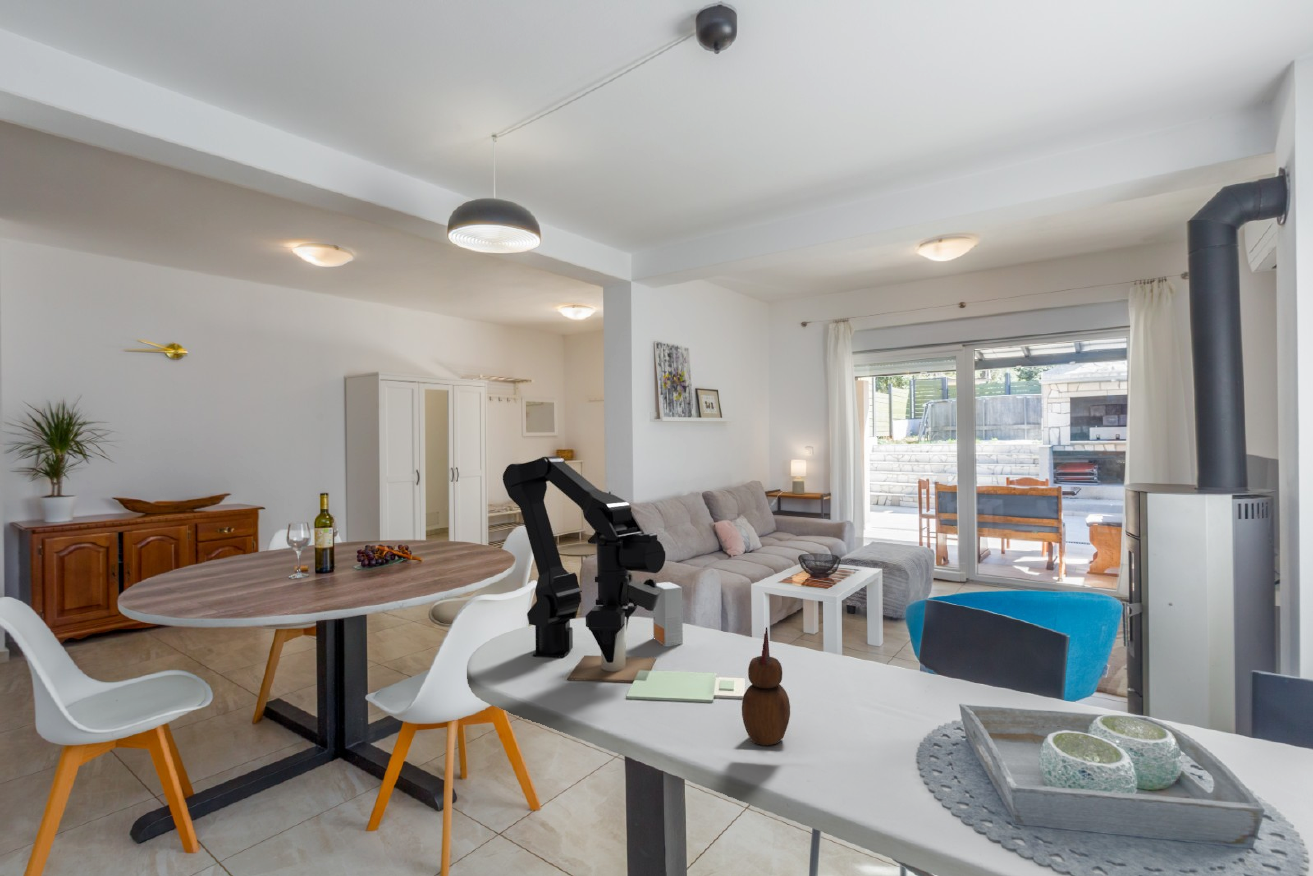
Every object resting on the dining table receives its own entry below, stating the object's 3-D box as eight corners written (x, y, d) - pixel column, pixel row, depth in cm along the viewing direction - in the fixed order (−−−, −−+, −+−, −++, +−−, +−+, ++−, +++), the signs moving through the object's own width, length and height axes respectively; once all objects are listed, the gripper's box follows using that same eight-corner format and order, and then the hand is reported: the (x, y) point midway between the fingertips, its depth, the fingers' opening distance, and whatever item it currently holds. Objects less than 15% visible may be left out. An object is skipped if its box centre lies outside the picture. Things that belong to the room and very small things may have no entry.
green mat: (626, 698, 103) (626, 696, 103) (639, 672, 114) (639, 670, 114) (713, 702, 101) (713, 699, 101) (716, 675, 112) (716, 673, 112)
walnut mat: (567, 679, 111) (567, 677, 111) (584, 657, 123) (584, 655, 123) (645, 683, 109) (645, 680, 109) (655, 660, 121) (655, 657, 121)
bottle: (598, 670, 114) (599, 611, 114) (604, 661, 119) (605, 604, 119) (622, 672, 114) (624, 612, 113) (627, 663, 118) (628, 605, 118)
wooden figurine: (760, 725, 92) (758, 622, 92) (796, 736, 88) (794, 629, 89) (735, 742, 87) (733, 633, 87) (772, 755, 83) (770, 640, 83)
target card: (707, 697, 103) (707, 692, 103) (710, 679, 111) (710, 675, 111) (744, 698, 102) (744, 694, 102) (745, 680, 110) (745, 676, 110)
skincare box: (652, 640, 134) (651, 583, 134) (670, 637, 135) (669, 581, 136) (665, 648, 128) (664, 589, 128) (683, 645, 130) (682, 586, 130)
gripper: (648, 578, 106) (651, 672, 105) (662, 560, 124) (665, 640, 124) (583, 578, 108) (586, 671, 107) (607, 560, 126) (610, 639, 125)
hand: (615, 654), depth 116 cm, fingers open, 9 cm apart
